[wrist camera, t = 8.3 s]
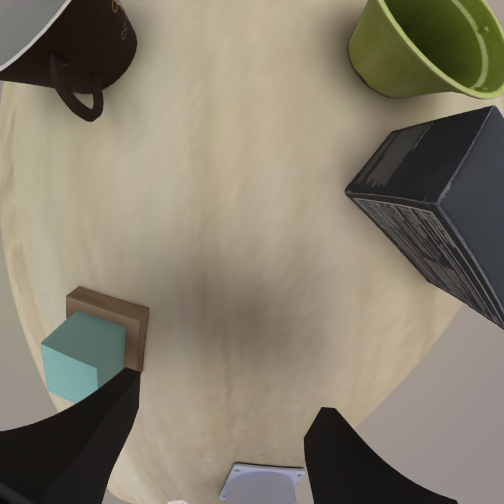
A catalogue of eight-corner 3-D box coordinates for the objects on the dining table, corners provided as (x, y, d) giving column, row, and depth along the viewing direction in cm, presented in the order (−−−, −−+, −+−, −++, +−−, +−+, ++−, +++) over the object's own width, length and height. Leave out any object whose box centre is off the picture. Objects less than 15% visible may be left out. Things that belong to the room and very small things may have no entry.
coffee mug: (59, 30, 14) (-12, -15, 5) (154, -2, 15) (109, -82, 5) (50, 158, 17) (-50, 159, 8) (152, 135, 17) (69, 102, 8)
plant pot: (427, 28, 15) (489, -12, 7) (442, 130, 17) (524, 119, 9) (321, 0, 15) (355, -70, 7) (329, 111, 17) (387, 68, 9)
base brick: (142, 371, 22) (135, 385, 20) (79, 348, 21) (69, 360, 19) (148, 308, 20) (140, 321, 18) (78, 286, 20) (66, 295, 18)
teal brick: (123, 370, 19) (99, 413, 14) (78, 353, 19) (48, 390, 14) (126, 327, 18) (96, 368, 14) (77, 309, 18) (40, 343, 13)
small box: (471, 223, 19) (566, 254, 9) (428, 284, 20) (515, 346, 10) (394, 125, 17) (500, 97, 7) (340, 192, 19) (433, 211, 8)
